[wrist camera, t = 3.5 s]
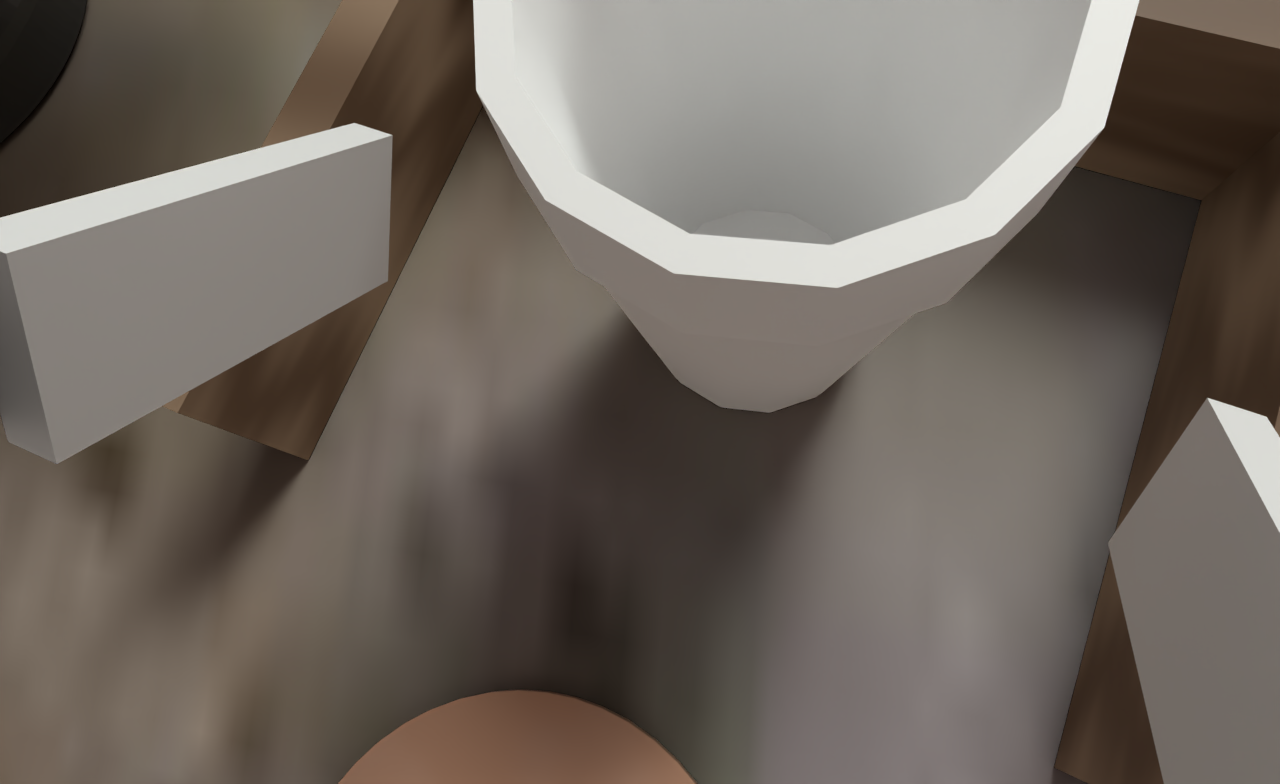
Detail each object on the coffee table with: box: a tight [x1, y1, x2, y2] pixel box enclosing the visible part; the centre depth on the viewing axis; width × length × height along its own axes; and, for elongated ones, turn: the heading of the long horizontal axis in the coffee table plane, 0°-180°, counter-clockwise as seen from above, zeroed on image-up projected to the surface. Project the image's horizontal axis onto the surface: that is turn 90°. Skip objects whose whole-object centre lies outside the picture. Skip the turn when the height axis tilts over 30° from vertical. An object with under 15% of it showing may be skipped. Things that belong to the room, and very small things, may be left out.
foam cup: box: [473, 0, 1139, 413], centre depth 18 cm, size 10×9×13 cm
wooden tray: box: [162, 0, 1280, 784], centre depth 21 cm, size 18×25×6 cm
